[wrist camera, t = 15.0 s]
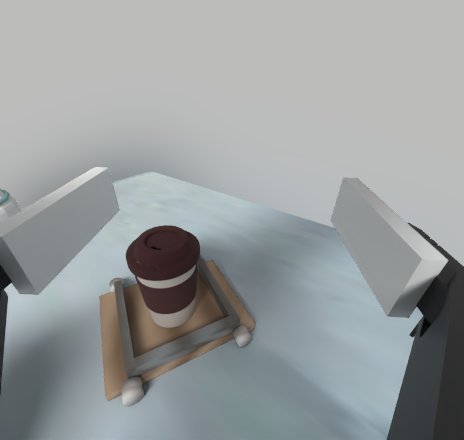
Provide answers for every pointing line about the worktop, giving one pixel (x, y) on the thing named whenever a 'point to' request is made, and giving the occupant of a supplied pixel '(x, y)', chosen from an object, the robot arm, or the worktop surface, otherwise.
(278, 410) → the worktop surface
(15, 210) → the soap bottle
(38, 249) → the robot arm
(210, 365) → the worktop surface
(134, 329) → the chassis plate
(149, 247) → the coffee cup
